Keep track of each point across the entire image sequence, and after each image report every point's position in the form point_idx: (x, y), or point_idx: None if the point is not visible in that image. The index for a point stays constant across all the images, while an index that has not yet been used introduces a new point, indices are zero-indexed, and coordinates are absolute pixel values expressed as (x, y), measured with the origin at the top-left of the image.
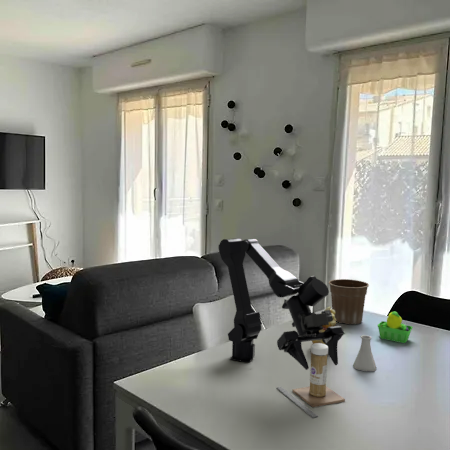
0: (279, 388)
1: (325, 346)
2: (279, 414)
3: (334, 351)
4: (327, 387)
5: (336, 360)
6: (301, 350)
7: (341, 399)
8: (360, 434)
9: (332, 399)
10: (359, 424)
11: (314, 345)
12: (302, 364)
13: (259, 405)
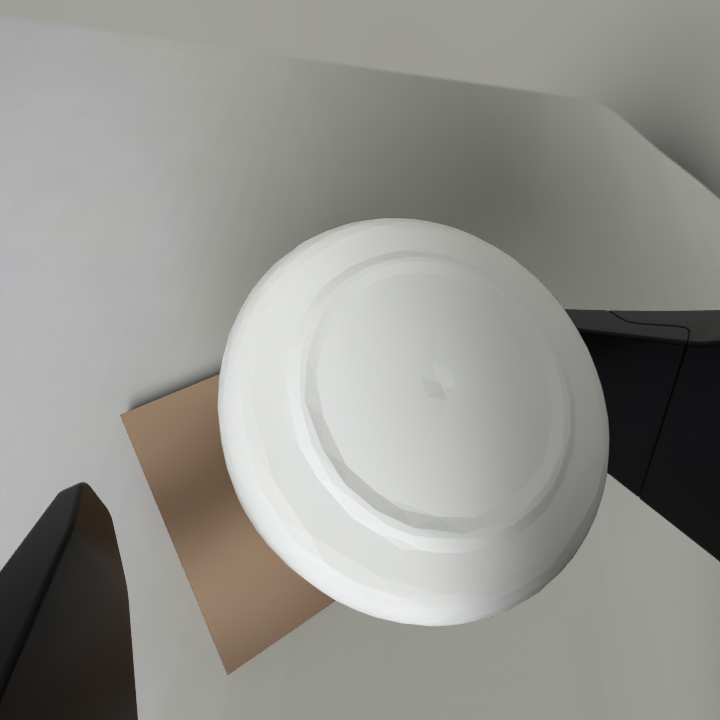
0: None
1: (302, 324)
2: None
3: (11, 637)
4: (204, 608)
5: (67, 505)
6: (670, 330)
7: (148, 406)
8: (159, 102)
9: (213, 401)
10: (131, 171)
11: (551, 374)
12: None
13: None
